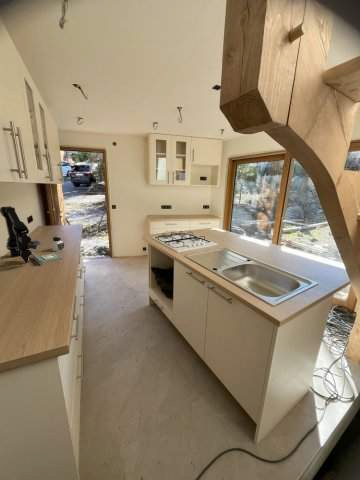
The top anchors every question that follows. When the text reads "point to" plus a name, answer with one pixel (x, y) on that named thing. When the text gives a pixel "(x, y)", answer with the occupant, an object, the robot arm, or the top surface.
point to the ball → (23, 260)
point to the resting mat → (49, 257)
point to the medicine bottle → (57, 244)
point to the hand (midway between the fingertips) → (25, 261)
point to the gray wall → (36, 258)
